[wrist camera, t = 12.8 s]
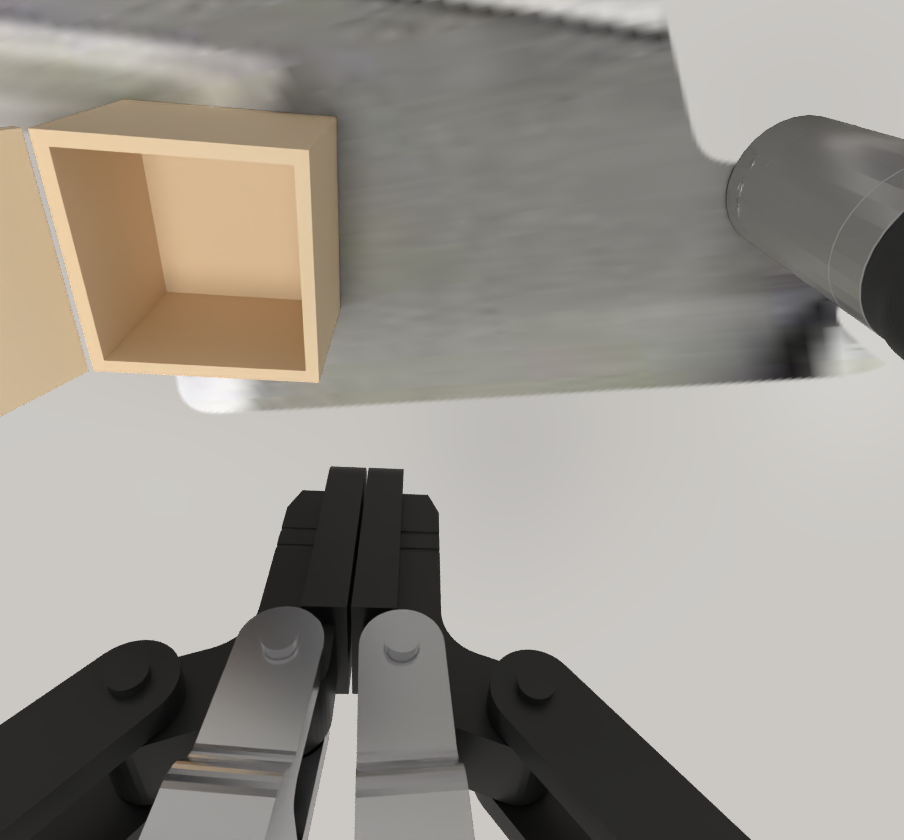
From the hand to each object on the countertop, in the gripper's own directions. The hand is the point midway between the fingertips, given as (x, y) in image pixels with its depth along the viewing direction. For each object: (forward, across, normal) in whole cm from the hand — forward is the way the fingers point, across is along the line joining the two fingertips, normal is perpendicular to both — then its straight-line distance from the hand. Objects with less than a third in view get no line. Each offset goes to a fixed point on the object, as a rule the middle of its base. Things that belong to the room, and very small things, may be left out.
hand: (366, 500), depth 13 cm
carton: (+37, +12, +5) cm, 39 cm away
